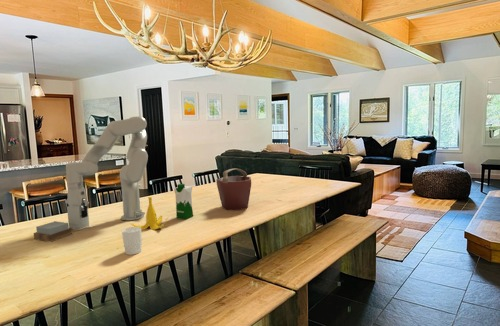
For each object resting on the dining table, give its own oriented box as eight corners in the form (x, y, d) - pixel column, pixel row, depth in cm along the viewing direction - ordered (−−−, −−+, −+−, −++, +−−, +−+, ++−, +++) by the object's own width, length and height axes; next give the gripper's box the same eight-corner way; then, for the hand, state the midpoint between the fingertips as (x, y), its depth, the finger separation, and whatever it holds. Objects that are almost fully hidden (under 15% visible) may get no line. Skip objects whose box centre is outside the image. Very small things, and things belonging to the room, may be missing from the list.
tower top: (68, 228, 172) (68, 223, 171) (50, 234, 163) (49, 228, 162) (55, 226, 176) (55, 221, 176) (36, 232, 167) (36, 226, 167)
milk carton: (174, 218, 195) (172, 184, 193) (183, 214, 203) (181, 182, 201) (186, 220, 192) (184, 185, 189) (195, 215, 200) (193, 182, 197)
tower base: (72, 234, 173) (71, 228, 172) (50, 241, 162) (49, 235, 162) (56, 231, 178) (56, 226, 177) (34, 238, 167) (33, 233, 166)
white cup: (126, 249, 149) (124, 227, 148) (144, 248, 150) (143, 226, 149) (121, 256, 141) (119, 233, 140) (140, 254, 142) (138, 232, 141)
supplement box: (80, 230, 179) (78, 207, 177) (68, 229, 180) (66, 206, 179) (89, 225, 186) (87, 203, 185) (78, 225, 188) (76, 203, 186)
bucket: (230, 213, 202) (228, 172, 199) (209, 207, 219) (207, 169, 216) (260, 206, 218) (259, 168, 215) (238, 200, 235) (237, 165, 232)
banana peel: (162, 221, 191) (160, 192, 189) (164, 231, 173) (162, 199, 171) (132, 224, 187) (129, 195, 185) (130, 235, 169) (127, 202, 167)
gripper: (92, 185, 180) (95, 216, 182) (70, 183, 187) (73, 213, 190) (80, 187, 173) (83, 219, 176) (58, 185, 181) (61, 216, 183)
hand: (78, 216), depth 183 cm, fingers open, 9 cm apart
